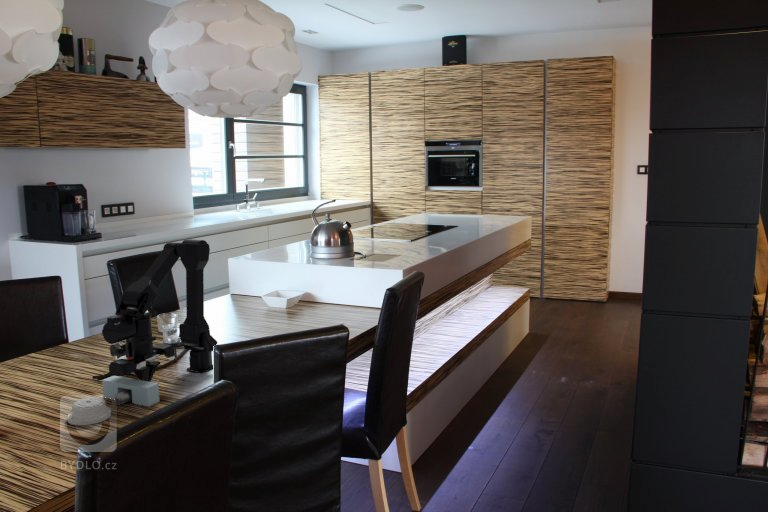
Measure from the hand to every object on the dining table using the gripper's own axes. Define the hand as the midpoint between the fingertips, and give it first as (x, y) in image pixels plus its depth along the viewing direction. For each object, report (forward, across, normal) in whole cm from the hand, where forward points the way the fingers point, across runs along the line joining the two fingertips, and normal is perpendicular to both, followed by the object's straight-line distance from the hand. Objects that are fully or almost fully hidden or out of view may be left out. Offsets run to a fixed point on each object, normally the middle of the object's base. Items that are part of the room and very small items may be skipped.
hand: (145, 388), depth 181 cm
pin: (+1, +6, 0) cm, 6 cm away
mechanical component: (+2, +19, 0) cm, 19 cm away
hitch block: (+1, +5, 0) cm, 5 cm away
